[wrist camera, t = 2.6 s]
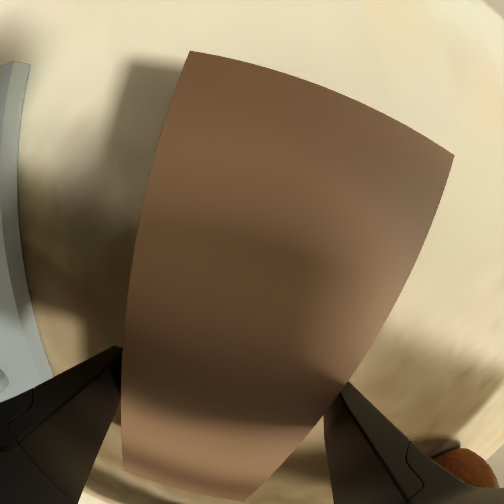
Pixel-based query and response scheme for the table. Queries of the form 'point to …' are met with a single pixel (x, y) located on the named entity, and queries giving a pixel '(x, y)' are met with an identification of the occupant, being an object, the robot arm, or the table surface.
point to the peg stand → (15, 254)
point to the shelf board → (262, 269)
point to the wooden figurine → (468, 467)
